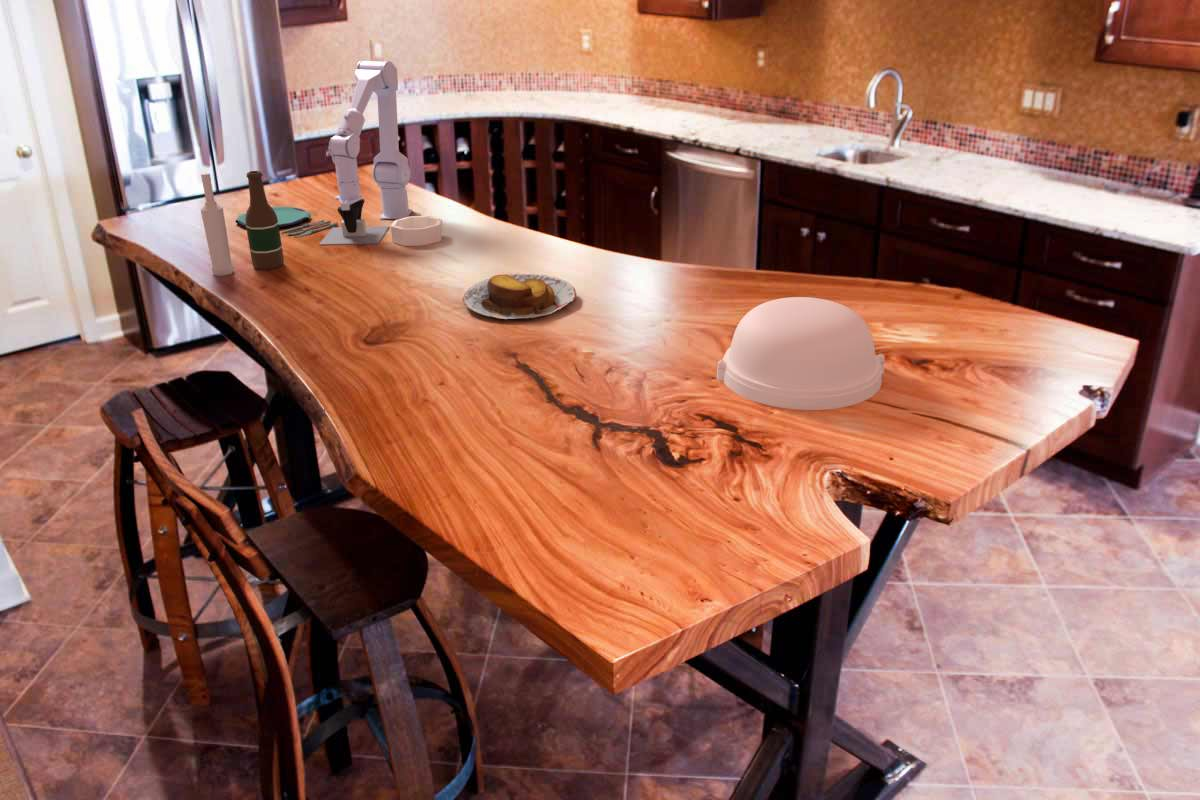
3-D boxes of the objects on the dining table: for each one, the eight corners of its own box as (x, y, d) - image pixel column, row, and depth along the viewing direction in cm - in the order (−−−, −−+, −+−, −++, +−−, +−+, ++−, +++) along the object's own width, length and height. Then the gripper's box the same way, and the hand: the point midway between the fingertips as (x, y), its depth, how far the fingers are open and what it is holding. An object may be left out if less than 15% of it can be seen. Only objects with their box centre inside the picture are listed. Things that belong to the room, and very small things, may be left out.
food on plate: (593, 293, 245) (592, 266, 242) (545, 331, 225) (544, 302, 222) (497, 281, 255) (495, 254, 252) (443, 315, 234) (440, 287, 232)
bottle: (237, 269, 266) (220, 171, 256) (229, 276, 262) (211, 176, 251) (217, 269, 267) (199, 171, 256) (209, 276, 262) (190, 176, 252)
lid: (333, 230, 299) (330, 213, 297) (389, 229, 299) (387, 212, 297) (319, 247, 285) (316, 229, 282) (378, 246, 284) (376, 228, 282)
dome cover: (862, 343, 214) (868, 277, 208) (908, 407, 187) (916, 333, 181) (705, 349, 213) (707, 283, 207) (728, 414, 186) (731, 340, 180)
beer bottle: (252, 262, 271) (237, 169, 261) (283, 259, 273) (269, 167, 263) (253, 271, 264) (237, 176, 254) (285, 268, 267) (270, 174, 256)
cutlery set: (282, 209, 320) (281, 202, 319) (345, 226, 303) (344, 219, 302) (224, 225, 306) (223, 217, 305) (287, 244, 289) (286, 236, 288)
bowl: (398, 232, 294) (396, 216, 292) (444, 231, 294) (443, 215, 292) (390, 246, 282) (388, 229, 280) (438, 245, 282) (437, 228, 280)
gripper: (339, 174, 291) (345, 222, 297) (327, 187, 278) (333, 237, 284) (364, 173, 291) (370, 221, 297) (354, 186, 278) (360, 236, 284)
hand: (354, 229), depth 291 cm, fingers open, 5 cm apart
